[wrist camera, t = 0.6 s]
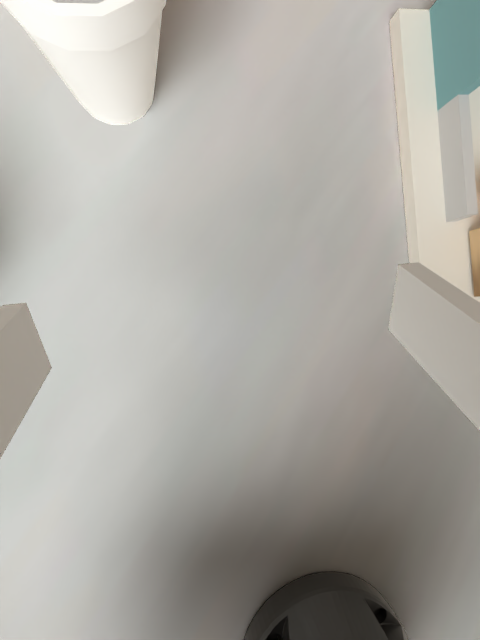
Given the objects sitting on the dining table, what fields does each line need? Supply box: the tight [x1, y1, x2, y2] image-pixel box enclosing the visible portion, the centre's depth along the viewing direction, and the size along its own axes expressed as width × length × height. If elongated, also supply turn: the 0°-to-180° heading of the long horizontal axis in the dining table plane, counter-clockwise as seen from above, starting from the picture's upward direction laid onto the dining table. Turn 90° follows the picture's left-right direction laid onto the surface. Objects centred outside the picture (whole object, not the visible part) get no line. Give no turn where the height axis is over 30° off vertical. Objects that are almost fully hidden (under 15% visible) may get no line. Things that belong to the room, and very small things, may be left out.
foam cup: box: [0, 0, 166, 125], centre depth 24 cm, size 10×9×13 cm
